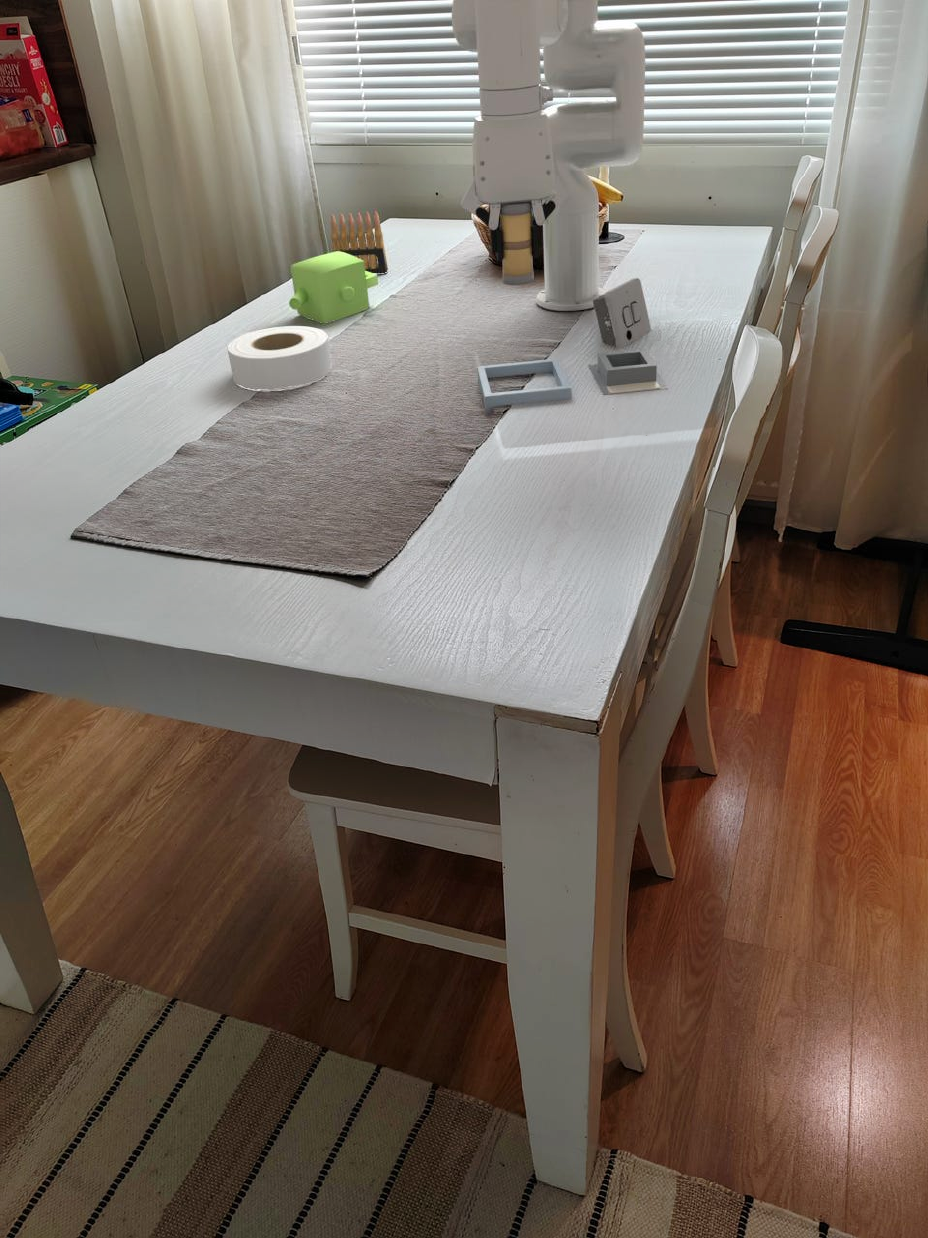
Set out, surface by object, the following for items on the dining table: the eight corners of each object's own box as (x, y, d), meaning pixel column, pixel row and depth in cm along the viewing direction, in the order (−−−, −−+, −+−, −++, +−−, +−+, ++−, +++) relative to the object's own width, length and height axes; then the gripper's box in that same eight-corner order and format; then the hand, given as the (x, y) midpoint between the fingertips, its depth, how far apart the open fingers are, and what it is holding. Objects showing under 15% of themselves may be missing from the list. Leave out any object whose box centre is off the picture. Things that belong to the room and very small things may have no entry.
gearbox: (307, 335, 173) (298, 281, 167) (277, 322, 179) (268, 270, 174) (388, 307, 182) (382, 255, 176) (357, 295, 188) (351, 245, 183)
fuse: (501, 278, 135) (497, 200, 129) (531, 275, 135) (528, 197, 129) (504, 286, 131) (500, 206, 126) (535, 283, 131) (533, 203, 126)
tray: (478, 382, 147) (477, 366, 146) (558, 374, 147) (557, 358, 146) (486, 413, 137) (484, 396, 136) (571, 404, 137) (571, 387, 136)
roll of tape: (282, 352, 166) (276, 319, 163) (352, 365, 158) (347, 331, 155) (213, 383, 156) (205, 349, 153) (284, 400, 148) (278, 364, 145)
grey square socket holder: (587, 371, 147) (587, 348, 145) (647, 365, 148) (648, 342, 146) (603, 401, 137) (603, 377, 135) (667, 395, 138) (668, 370, 136)
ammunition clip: (388, 271, 202) (381, 209, 195) (386, 273, 201) (379, 211, 194) (337, 274, 203) (328, 212, 197) (335, 276, 202) (326, 215, 195)
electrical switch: (622, 354, 152) (618, 293, 148) (593, 352, 155) (588, 292, 151) (652, 336, 158) (649, 277, 154) (624, 334, 161) (621, 276, 157)
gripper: (573, 93, 124) (574, 244, 135) (441, 105, 124) (452, 255, 134) (583, 100, 118) (584, 257, 128) (444, 113, 118) (456, 270, 128)
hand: (517, 255), depth 131 cm, fingers closed on fuse, 4 cm apart
